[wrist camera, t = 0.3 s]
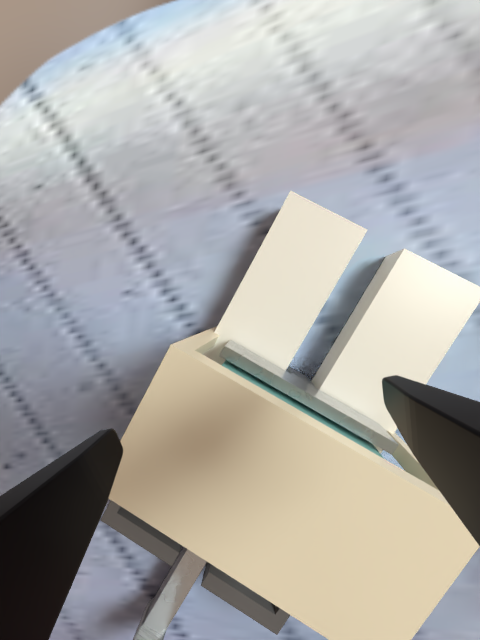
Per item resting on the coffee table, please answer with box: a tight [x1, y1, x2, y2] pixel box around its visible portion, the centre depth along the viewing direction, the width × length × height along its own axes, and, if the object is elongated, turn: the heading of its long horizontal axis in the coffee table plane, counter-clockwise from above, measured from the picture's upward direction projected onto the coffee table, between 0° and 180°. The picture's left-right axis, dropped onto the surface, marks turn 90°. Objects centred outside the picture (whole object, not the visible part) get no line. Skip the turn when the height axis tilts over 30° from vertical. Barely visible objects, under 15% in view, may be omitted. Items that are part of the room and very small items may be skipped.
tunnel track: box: [101, 191, 480, 640], centre depth 18 cm, size 32×18×11 cm, turn 151°
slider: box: [133, 340, 399, 640], centre depth 21 cm, size 29×13×7 cm, turn 151°
